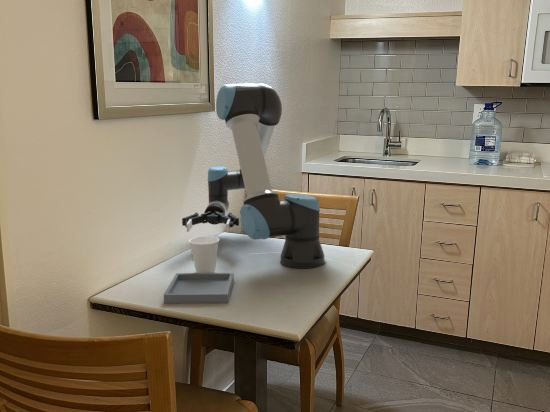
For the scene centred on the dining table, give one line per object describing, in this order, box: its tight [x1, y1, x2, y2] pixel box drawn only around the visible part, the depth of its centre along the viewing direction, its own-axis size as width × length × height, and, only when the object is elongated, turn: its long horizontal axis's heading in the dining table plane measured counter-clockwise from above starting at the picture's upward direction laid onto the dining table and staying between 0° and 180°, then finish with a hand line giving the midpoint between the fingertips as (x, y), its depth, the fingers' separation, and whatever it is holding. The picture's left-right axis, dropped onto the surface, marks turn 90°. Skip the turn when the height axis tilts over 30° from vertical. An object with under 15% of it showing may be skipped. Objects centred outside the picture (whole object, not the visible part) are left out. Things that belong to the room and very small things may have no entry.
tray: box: [163, 272, 235, 304], centre depth 162 cm, size 18×18×2 cm
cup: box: [188, 235, 221, 273], centre depth 178 cm, size 10×10×11 cm
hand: (207, 227), depth 186 cm, fingers open, 13 cm apart
